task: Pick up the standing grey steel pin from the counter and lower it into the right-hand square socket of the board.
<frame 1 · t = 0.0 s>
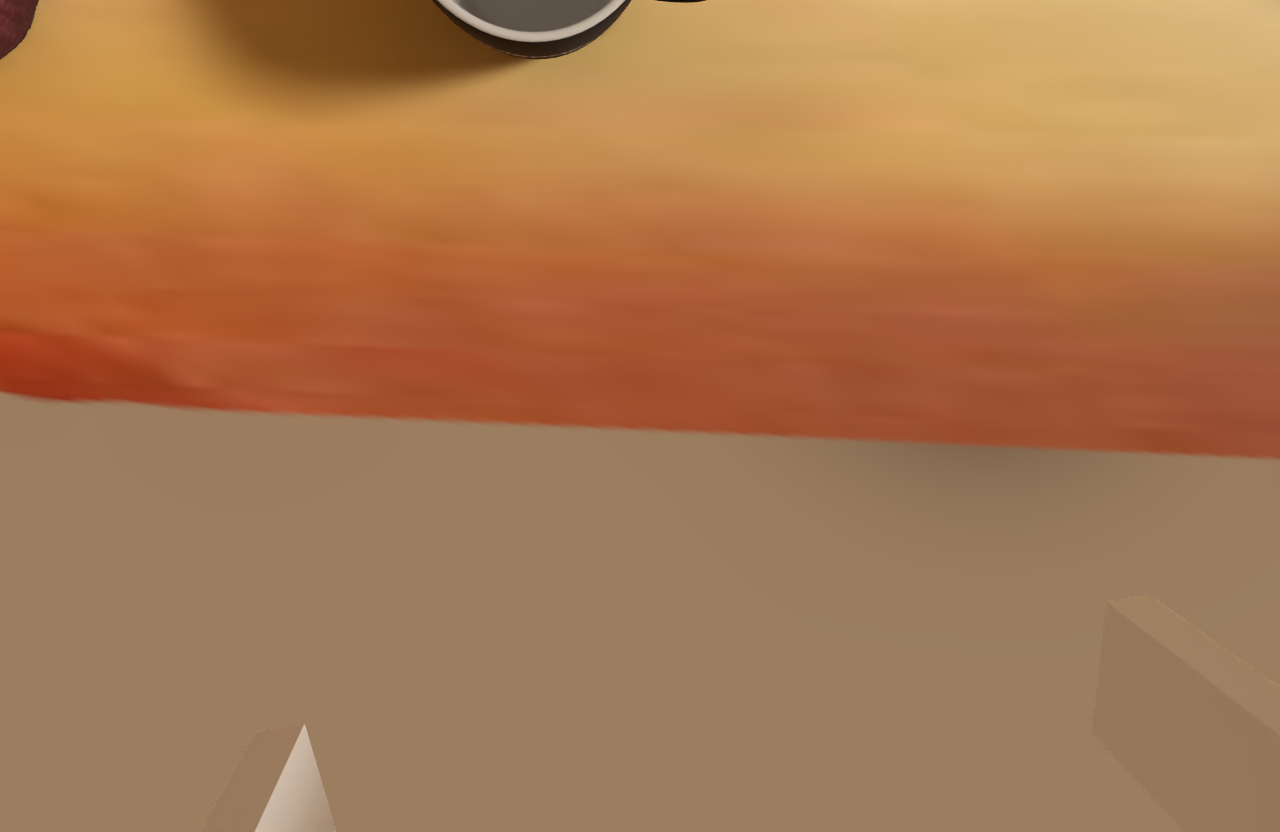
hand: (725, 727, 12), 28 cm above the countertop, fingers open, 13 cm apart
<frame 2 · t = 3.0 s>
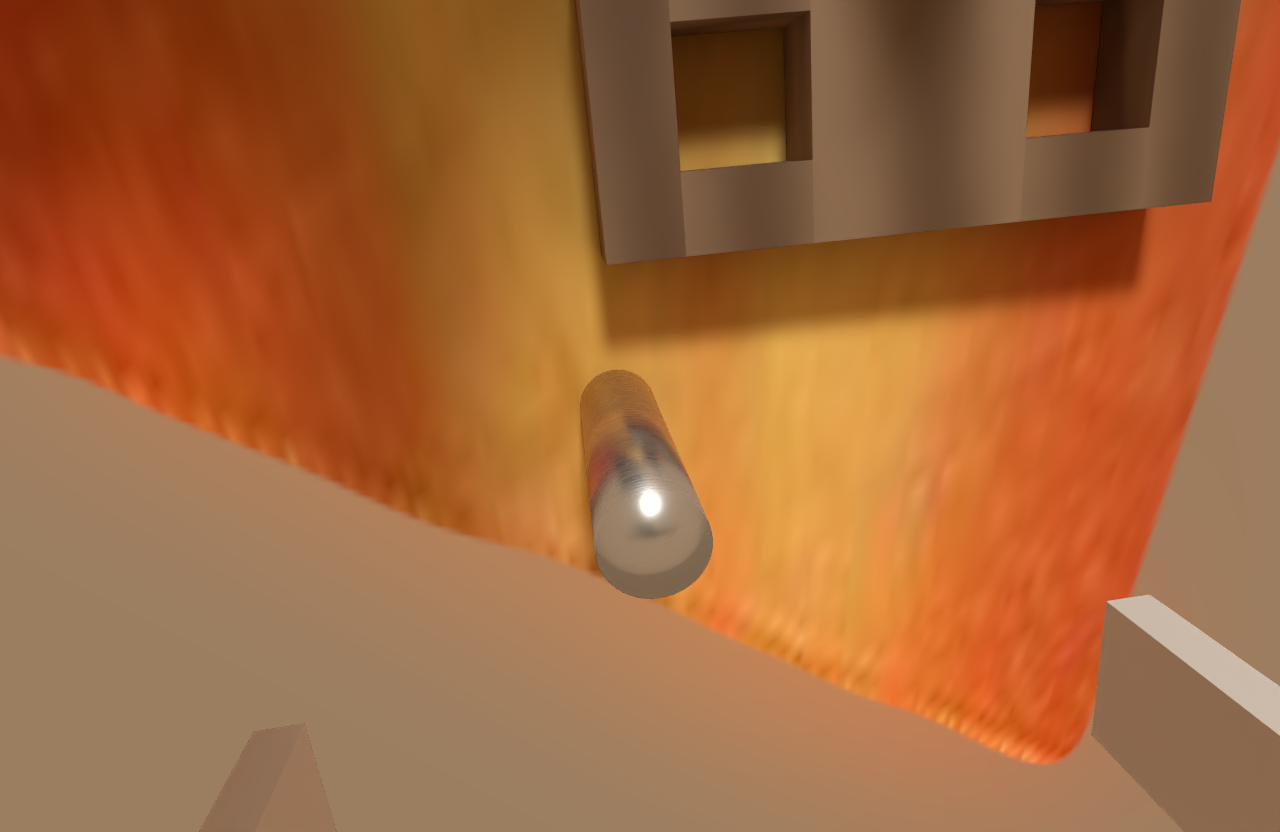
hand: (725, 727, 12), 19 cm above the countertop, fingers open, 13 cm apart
pin: (617, 405, 30), on the countertop
board: (884, 87, 28), on the countertop
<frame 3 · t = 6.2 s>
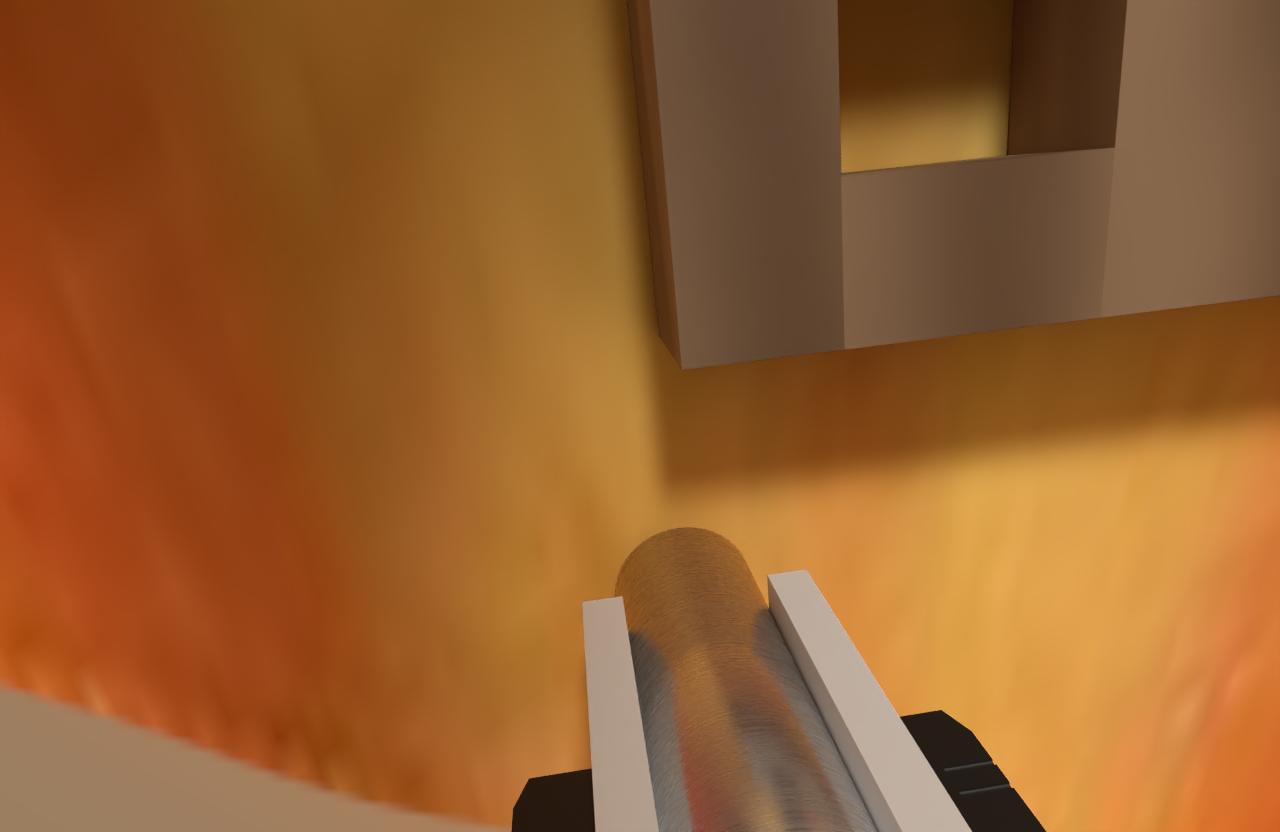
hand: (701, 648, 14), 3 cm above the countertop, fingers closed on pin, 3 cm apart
pin: (683, 589, 16), on the countertop, touching gripper
board: (1200, 11, 14), on the countertop
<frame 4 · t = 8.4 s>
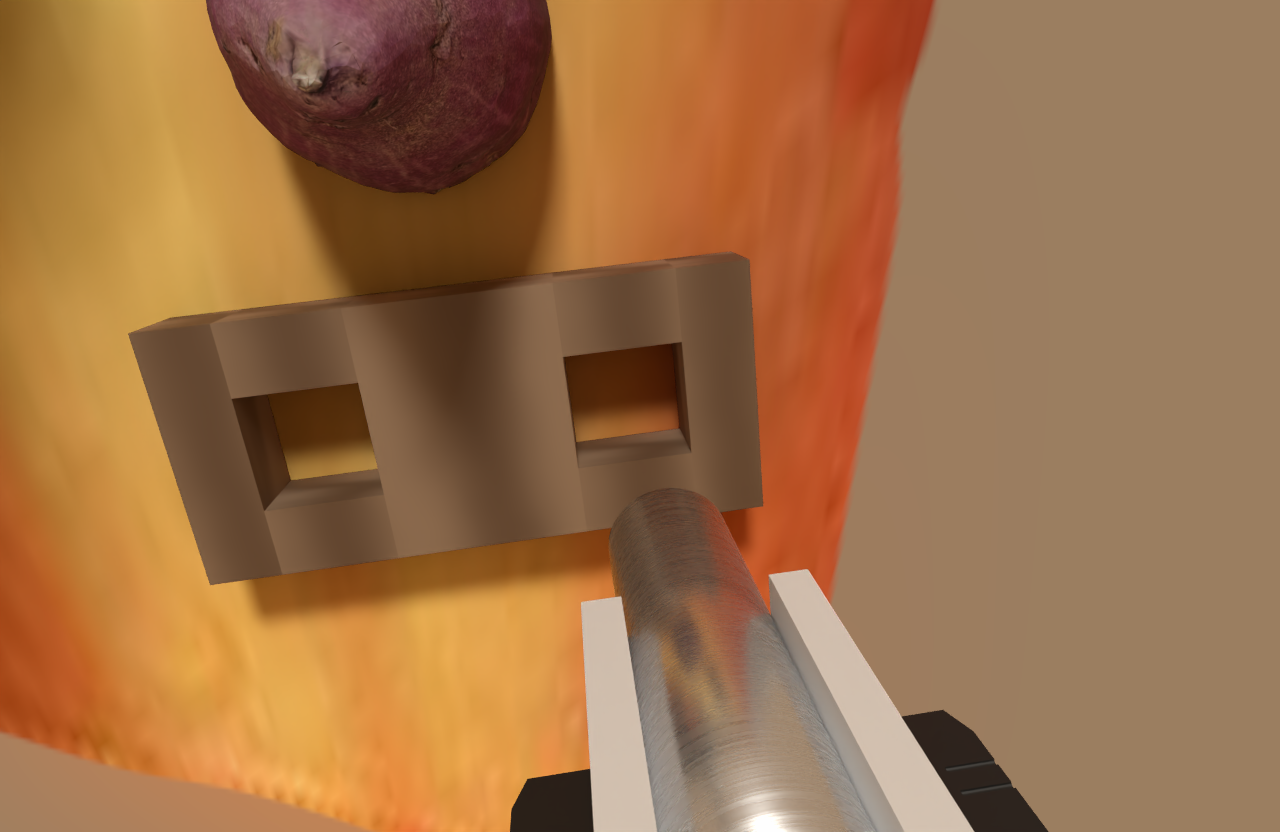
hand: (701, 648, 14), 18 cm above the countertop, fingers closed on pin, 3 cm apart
vegetable: (408, 42, 27), on the countertop
pin: (668, 543, 19), point 14 cm above the countertop, touching gripper
board: (479, 403, 31), on the countertop
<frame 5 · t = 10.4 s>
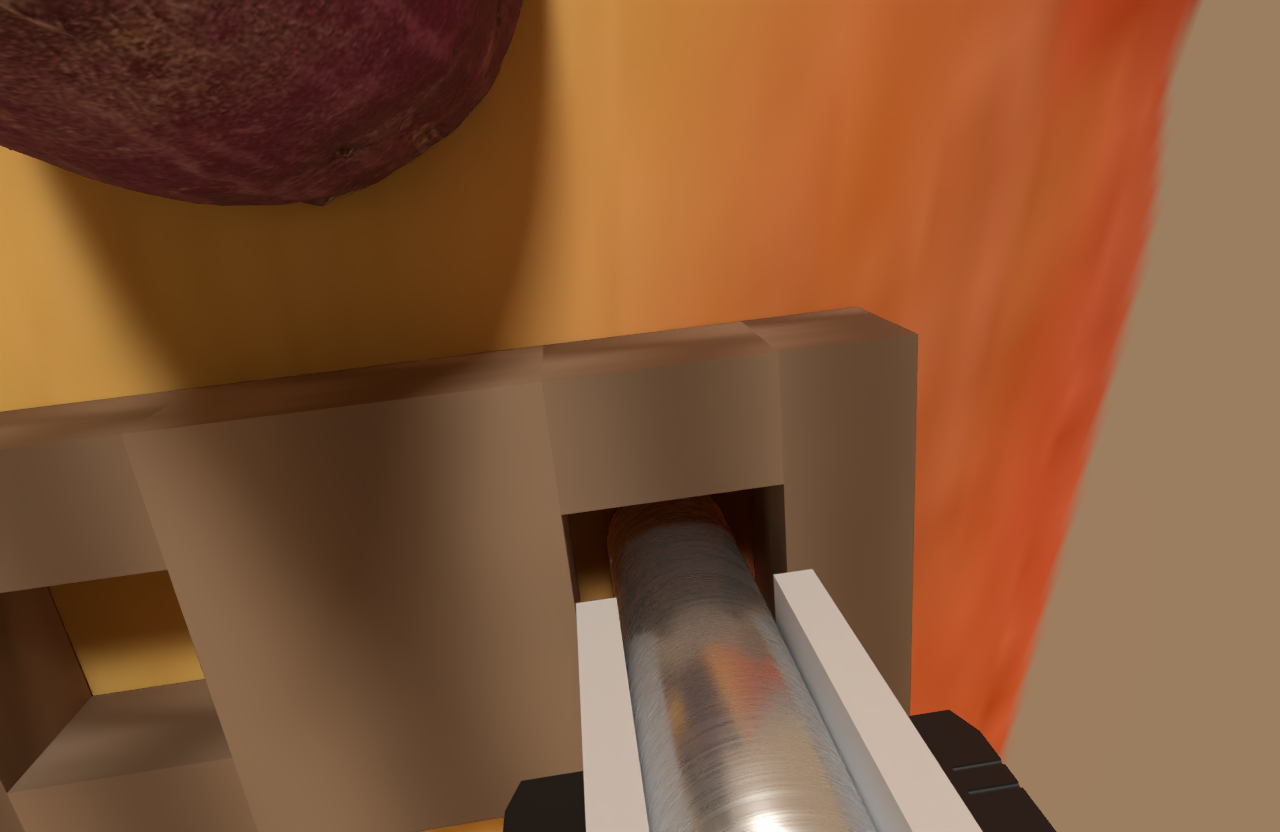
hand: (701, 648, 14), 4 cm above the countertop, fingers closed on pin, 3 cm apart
pin: (667, 537, 19), on the countertop, touching gripper
board: (417, 566, 18), on the countertop
when the fingers open (4 cm above the countertop, at t = 11.0 s): pin stays where it is, on the countertop.
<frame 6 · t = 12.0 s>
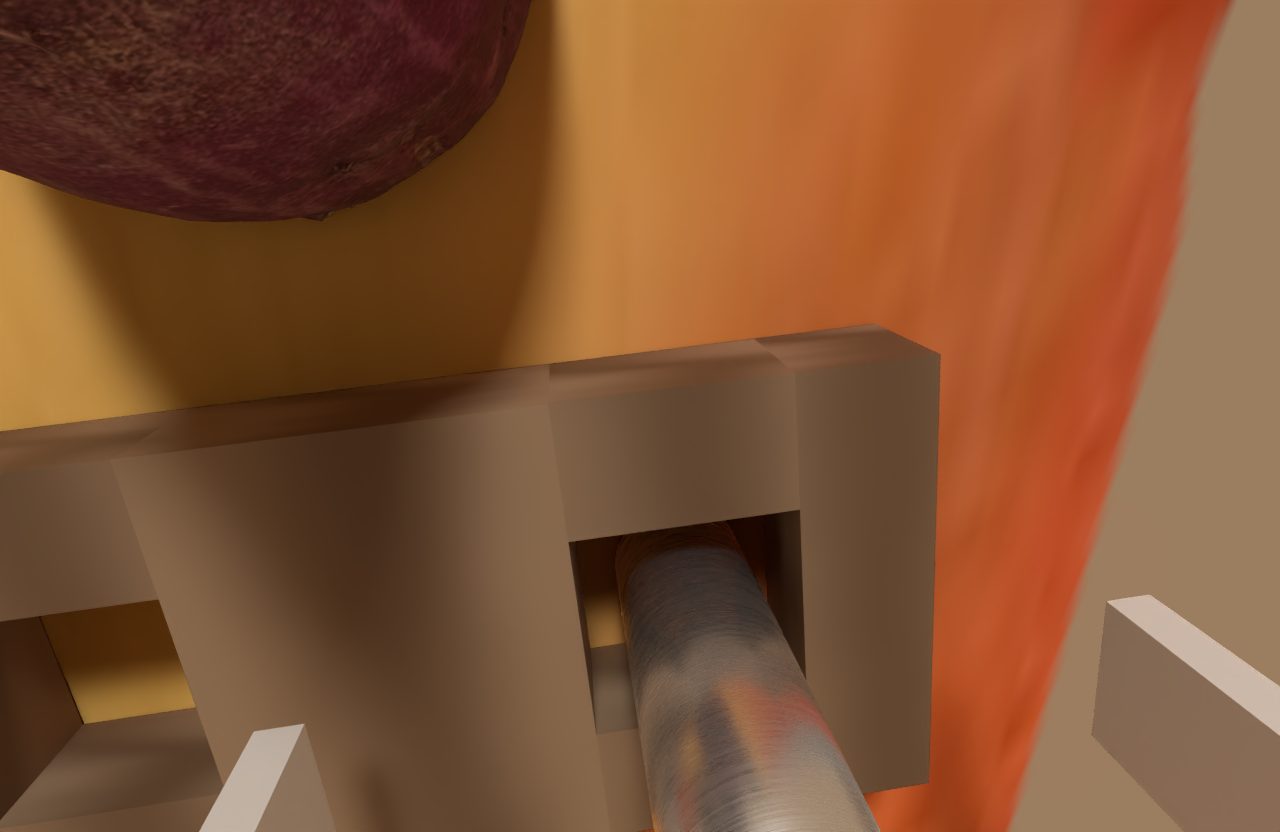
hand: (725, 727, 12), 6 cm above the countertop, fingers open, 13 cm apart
pin: (677, 560, 18), on the countertop
board: (418, 590, 17), on the countertop
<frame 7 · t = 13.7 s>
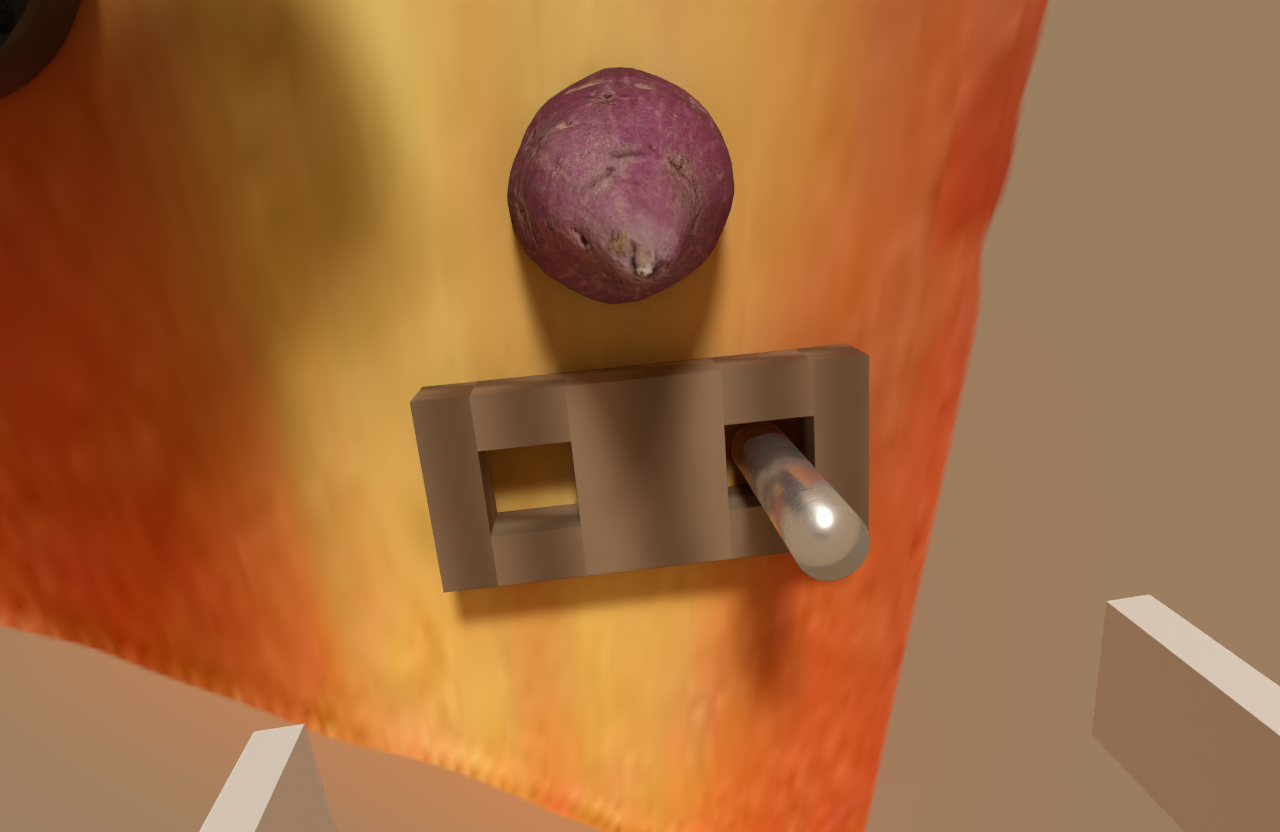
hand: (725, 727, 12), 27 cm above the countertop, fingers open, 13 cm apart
vegetable: (617, 189, 36), on the countertop
pin: (758, 447, 40), on the countertop
board: (646, 456, 40), on the countertop
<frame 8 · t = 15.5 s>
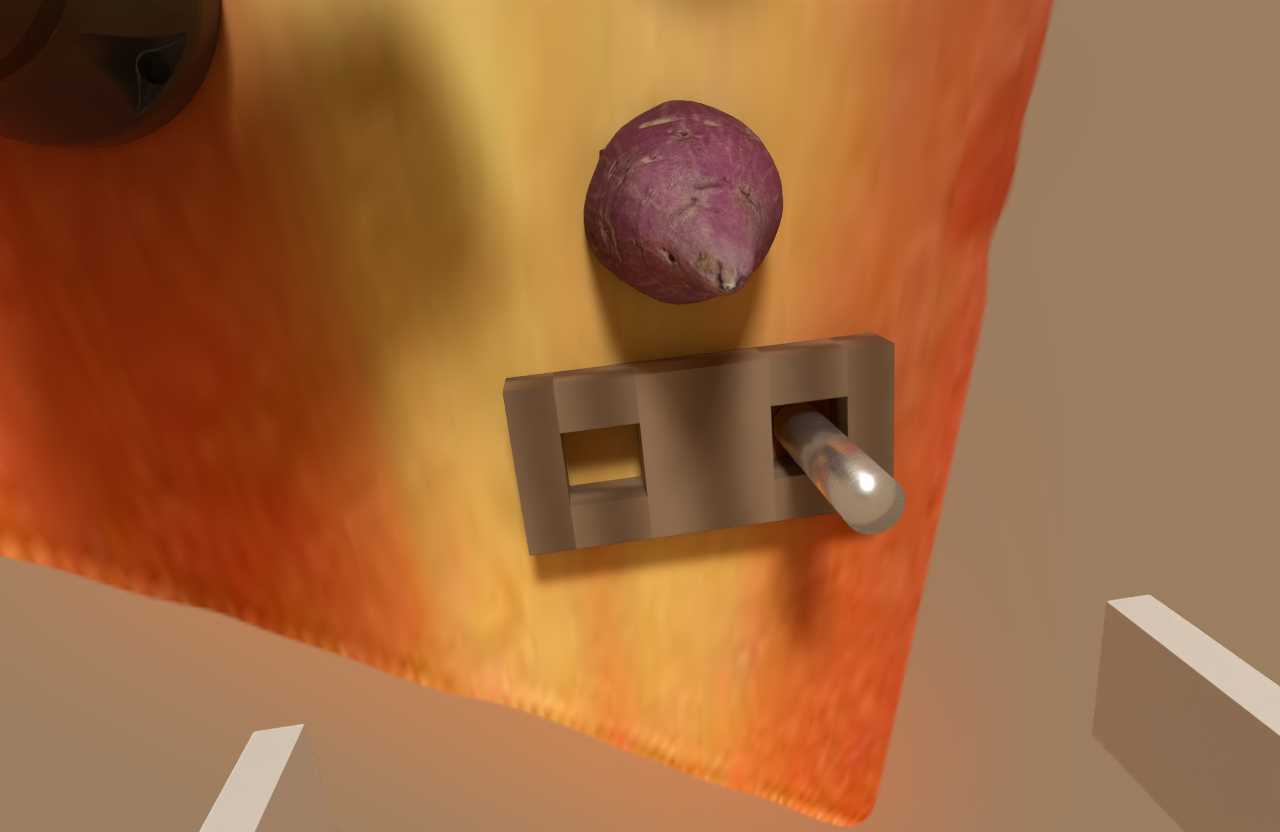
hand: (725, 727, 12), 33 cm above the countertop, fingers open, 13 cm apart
vegetable: (675, 203, 42), on the countertop
pin: (796, 424, 46), on the countertop
board: (699, 434, 46), on the countertop
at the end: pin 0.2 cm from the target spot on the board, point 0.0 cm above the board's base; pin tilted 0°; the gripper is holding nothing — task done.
